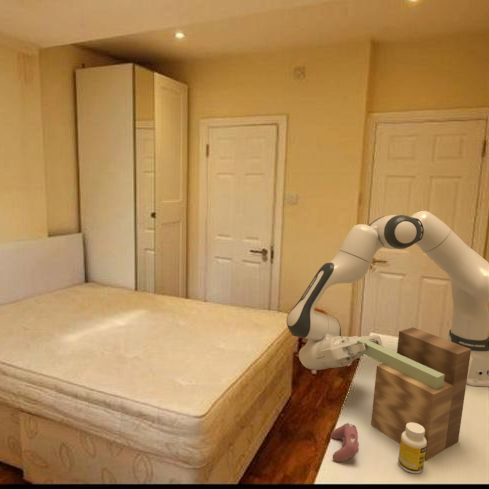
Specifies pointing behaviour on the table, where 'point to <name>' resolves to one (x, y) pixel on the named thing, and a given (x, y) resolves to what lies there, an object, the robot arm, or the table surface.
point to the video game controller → (346, 442)
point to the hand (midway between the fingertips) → (371, 344)
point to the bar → (403, 364)
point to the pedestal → (423, 391)
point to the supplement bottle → (412, 448)
